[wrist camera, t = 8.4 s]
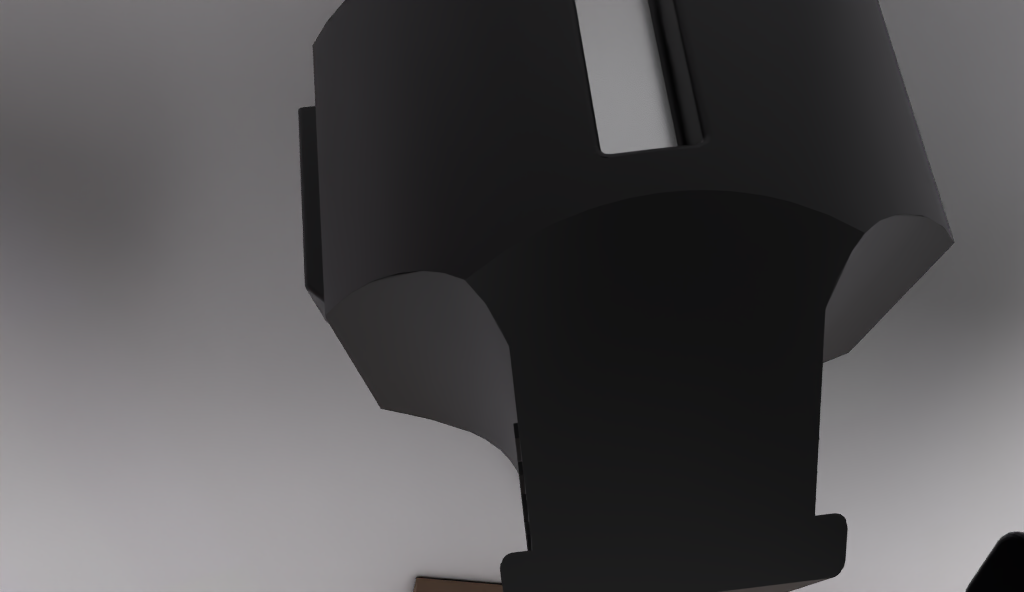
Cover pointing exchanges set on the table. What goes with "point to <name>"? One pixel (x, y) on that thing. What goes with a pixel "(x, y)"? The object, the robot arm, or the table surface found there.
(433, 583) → the walnut pad
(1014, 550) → the robot arm
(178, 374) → the table surface
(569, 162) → the power plug
